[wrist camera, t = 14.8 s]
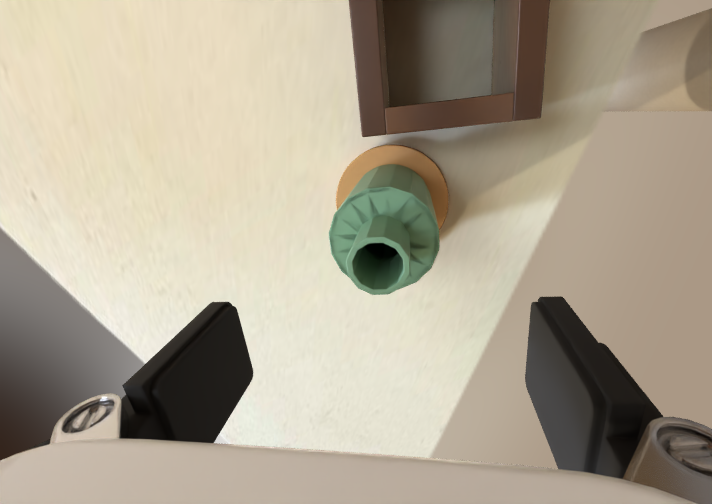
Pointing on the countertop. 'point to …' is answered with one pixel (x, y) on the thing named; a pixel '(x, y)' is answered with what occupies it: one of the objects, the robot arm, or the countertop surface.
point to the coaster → (399, 157)
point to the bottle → (385, 230)
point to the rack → (507, 103)
